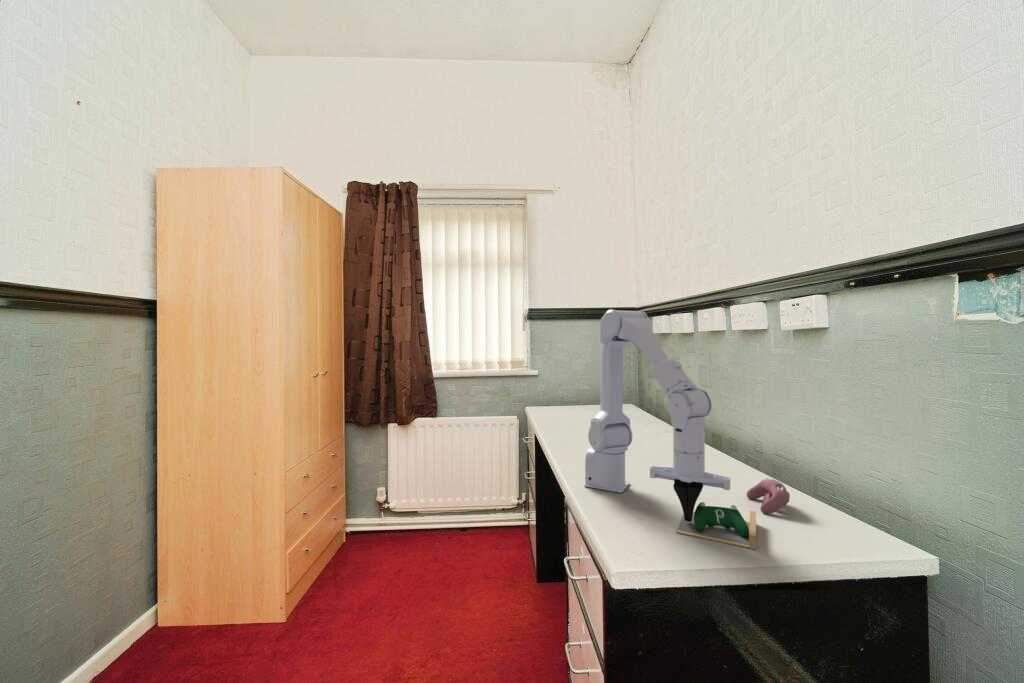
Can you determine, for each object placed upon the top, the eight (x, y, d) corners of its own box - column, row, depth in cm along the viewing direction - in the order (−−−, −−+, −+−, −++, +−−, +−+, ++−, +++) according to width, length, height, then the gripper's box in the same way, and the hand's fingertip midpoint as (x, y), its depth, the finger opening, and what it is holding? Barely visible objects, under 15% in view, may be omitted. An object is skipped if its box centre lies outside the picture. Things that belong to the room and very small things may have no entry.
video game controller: (781, 523, 87) (798, 494, 87) (759, 512, 88) (776, 483, 87) (763, 505, 97) (778, 479, 96) (743, 495, 98) (758, 469, 97)
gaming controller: (747, 543, 78) (741, 512, 83) (751, 535, 76) (745, 503, 80) (693, 537, 81) (690, 507, 85) (695, 529, 78) (692, 498, 83)
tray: (676, 532, 79) (676, 519, 79) (685, 510, 90) (685, 499, 90) (755, 549, 73) (755, 536, 73) (755, 523, 83) (755, 511, 83)
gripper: (646, 450, 83) (646, 518, 83) (728, 460, 76) (728, 536, 76) (654, 442, 89) (653, 506, 89) (730, 451, 82) (730, 521, 82)
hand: (688, 519), depth 83 cm, fingers closed
